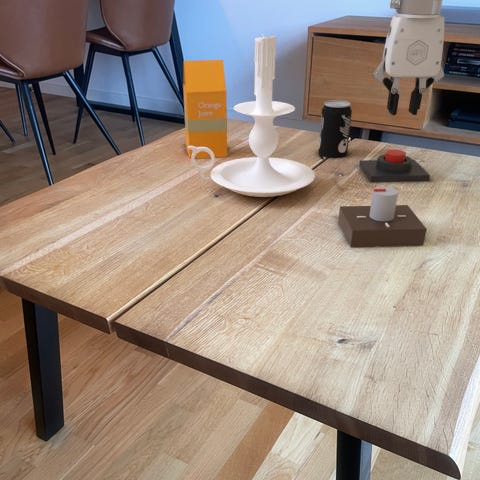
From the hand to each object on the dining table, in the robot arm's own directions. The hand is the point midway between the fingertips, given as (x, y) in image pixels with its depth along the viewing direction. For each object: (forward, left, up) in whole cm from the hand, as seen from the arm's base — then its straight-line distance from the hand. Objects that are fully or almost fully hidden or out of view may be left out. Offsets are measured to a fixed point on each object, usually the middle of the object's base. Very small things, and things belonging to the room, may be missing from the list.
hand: (402, 112), depth 109 cm
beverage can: (+10, -14, -13) cm, 22 cm away
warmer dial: (+10, +27, -10) cm, 31 cm away
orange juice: (+39, -19, -13) cm, 45 cm away
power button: (0, 0, -10) cm, 10 cm away
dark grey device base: (0, 0, -13) cm, 13 cm away
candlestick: (+30, +5, -13) cm, 33 cm away
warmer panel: (+10, +27, -13) cm, 32 cm away
